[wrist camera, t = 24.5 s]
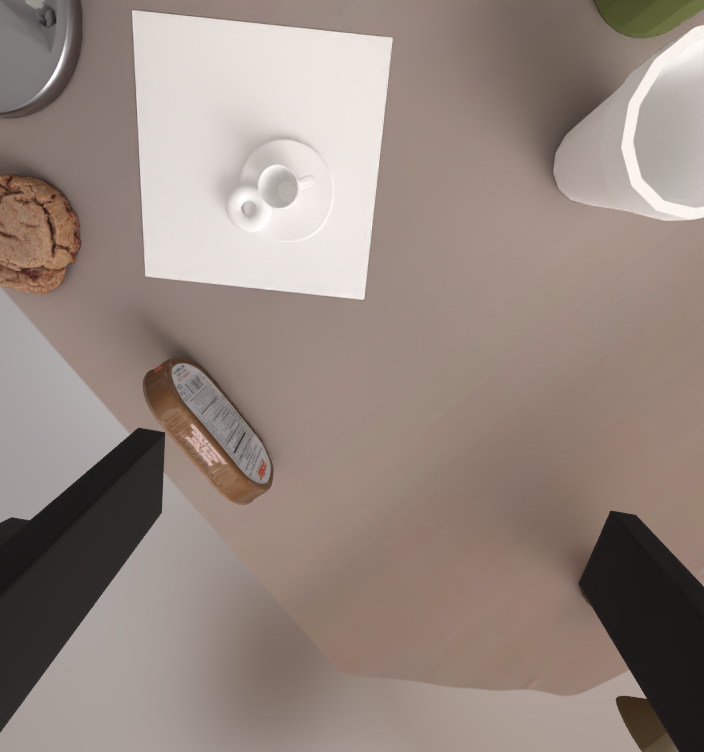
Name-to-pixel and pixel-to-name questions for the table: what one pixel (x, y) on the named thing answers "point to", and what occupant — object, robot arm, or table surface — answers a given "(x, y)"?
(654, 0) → the thick-walled green cup
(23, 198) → the cookie
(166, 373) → the tin
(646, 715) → the kendama
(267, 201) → the teacup and saucer
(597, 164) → the foam cup
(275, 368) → the table surface
